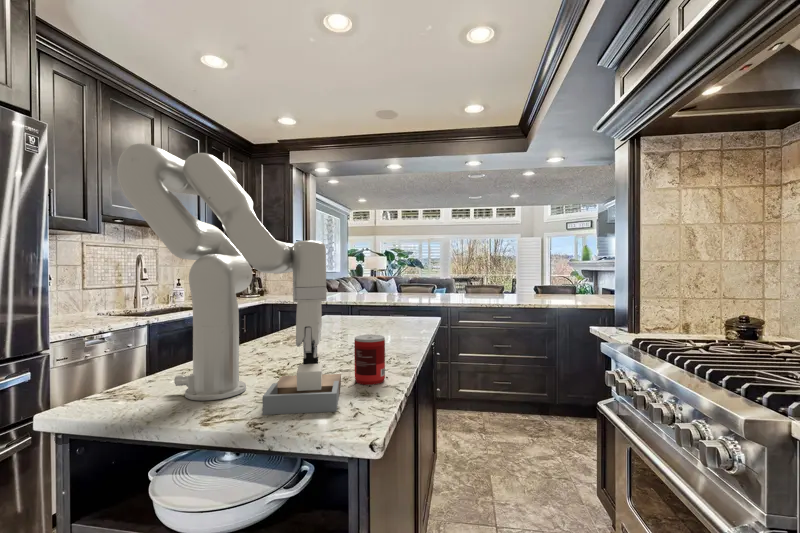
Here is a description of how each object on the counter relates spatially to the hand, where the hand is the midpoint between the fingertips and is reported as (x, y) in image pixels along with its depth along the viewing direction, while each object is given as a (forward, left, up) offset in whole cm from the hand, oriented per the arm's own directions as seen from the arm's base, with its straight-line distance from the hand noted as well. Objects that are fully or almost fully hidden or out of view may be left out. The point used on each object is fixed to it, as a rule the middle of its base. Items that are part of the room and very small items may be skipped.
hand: (310, 375), depth 89 cm
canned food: (+14, +8, -4) cm, 16 cm away
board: (-1, 0, -4) cm, 4 cm away
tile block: (0, -4, -1) cm, 4 cm away
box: (-1, -9, -4) cm, 10 cm away
